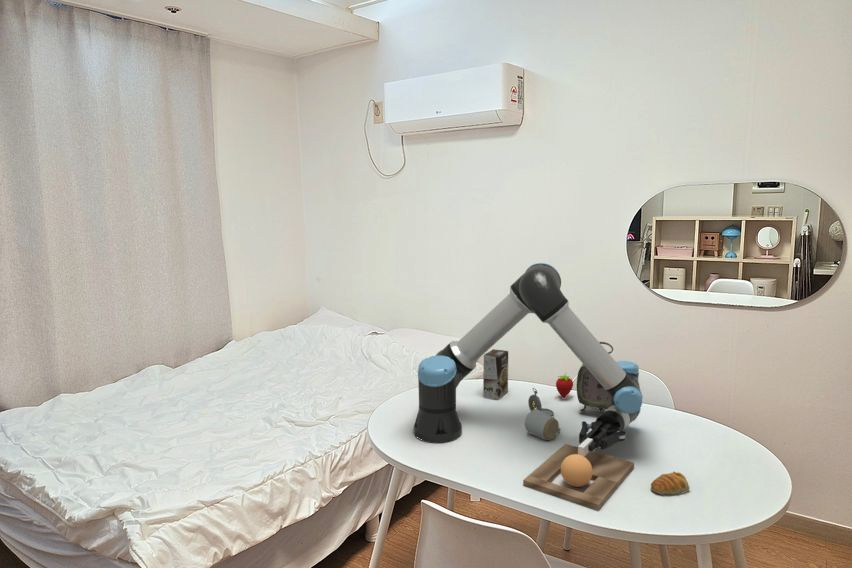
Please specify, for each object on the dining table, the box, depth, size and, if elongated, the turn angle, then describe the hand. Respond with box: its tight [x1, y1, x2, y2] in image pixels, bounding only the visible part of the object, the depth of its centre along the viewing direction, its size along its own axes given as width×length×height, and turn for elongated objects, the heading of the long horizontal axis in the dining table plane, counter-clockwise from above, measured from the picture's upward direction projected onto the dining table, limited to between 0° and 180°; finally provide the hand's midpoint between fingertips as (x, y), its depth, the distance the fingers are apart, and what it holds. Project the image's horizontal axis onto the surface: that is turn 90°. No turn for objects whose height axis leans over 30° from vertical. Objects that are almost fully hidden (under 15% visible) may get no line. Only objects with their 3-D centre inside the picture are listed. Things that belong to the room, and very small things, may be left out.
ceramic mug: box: [524, 408, 562, 441], centre depth 179 cm, size 11×8×8 cm
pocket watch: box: [527, 388, 554, 417], centre depth 194 cm, size 8×8×10 cm
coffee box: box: [482, 348, 509, 400], centre depth 213 cm, size 9×6×16 cm
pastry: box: [650, 471, 691, 496], centre depth 147 cm, size 9×7×4 cm
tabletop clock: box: [576, 341, 614, 415], centre depth 194 cm, size 14×9×25 cm, turn 65°
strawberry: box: [555, 372, 574, 399], centre depth 209 cm, size 6×8×10 cm
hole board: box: [522, 443, 635, 511], centre depth 154 cm, size 20×26×2 cm
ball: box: [560, 454, 593, 488], centre depth 150 cm, size 8×8×8 cm
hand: (580, 451), depth 153 cm, fingers closed
